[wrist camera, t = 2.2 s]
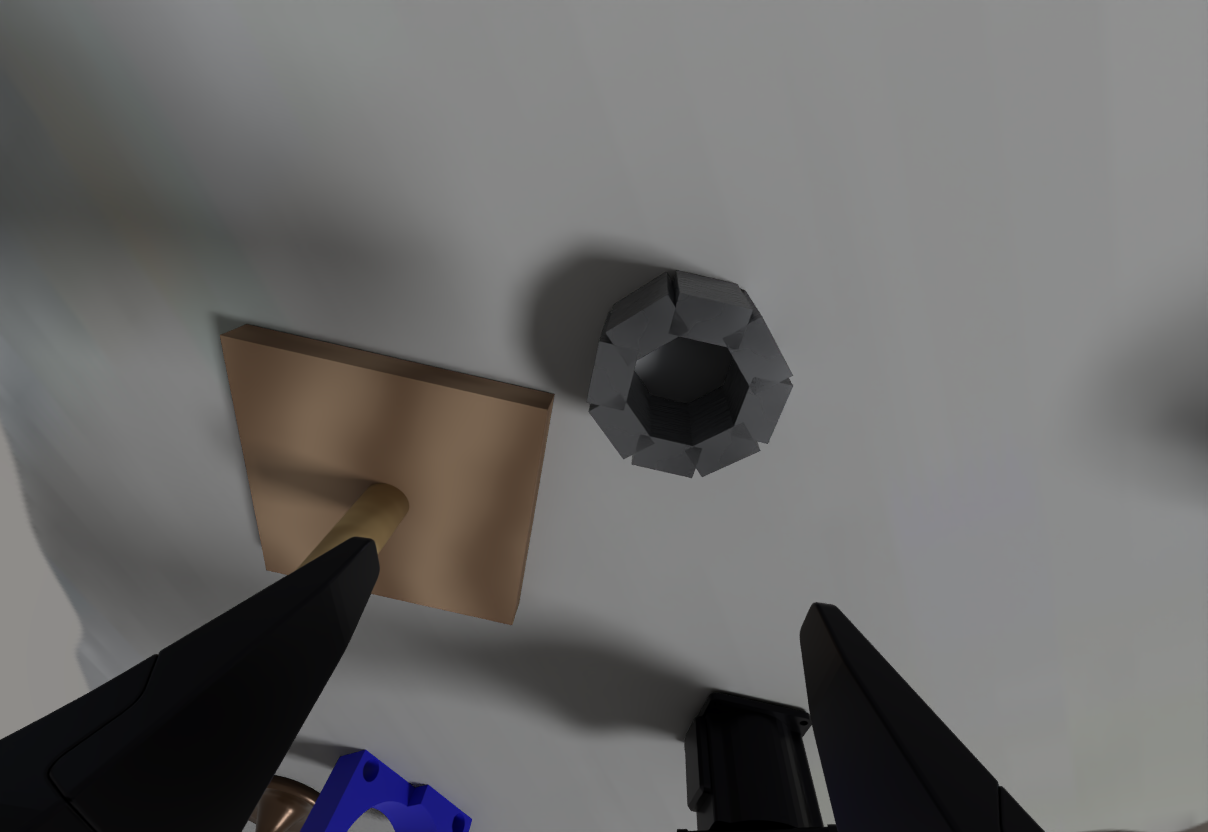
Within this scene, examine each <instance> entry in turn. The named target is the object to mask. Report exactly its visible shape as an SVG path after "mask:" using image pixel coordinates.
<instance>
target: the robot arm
mask: <svg viewBox="0 0 1208 832" xmlns="http://www.w3.org/2000/svg"><path fill="white" fill-rule="evenodd" d="M379 572H380V564H379V559H378V553H377V548H376V543H375V541H374V540H373V539H371V538H365V537H358V536H354V537H351V538H349V539H347V540H346V541H344V542H342V543H341V544H339V545H337V546H336V547H334V548H332V549H331V550H329V551H327V552H326V553H324V554H322V555H320V556H319V557H317V558H315V559H314V560H312V561H310V562H309V563H307V564H305V565H304V566H302V567H300V568H299V569H297V570H295V571H294V572H292V573H290V574H289V575H287V576H285V577H284V578H282V579H280V580H279V581H277V582H275V583H273V584H272V585H270V586H268V587H267V588H265V589H263V590H262V591H260V592H258V593H257V594H255V595H253V596H252V597H250V598H248V599H247V600H245V601H243V602H242V603H240V604H238V605H237V606H235V607H233V608H232V609H230V610H228V611H226V612H225V613H223V614H221V615H220V616H218V617H216V618H215V619H213V620H211V621H210V622H208V623H206V624H205V625H203V626H201V627H200V628H198V629H196V630H195V631H193V632H191V633H190V634H188V635H186V636H185V637H183V638H181V639H180V640H178V641H176V642H174V643H173V644H171V645H169V646H168V647H166V648H164V649H163V650H161V651H160V652H159V654H154V655H152V656H151V657H149V658H147V659H146V660H144V661H142V662H141V663H139V664H137V665H136V666H134V667H132V668H131V669H129V670H127V671H125V672H124V673H122V674H120V675H118V676H117V677H115V678H113V679H112V680H110V681H108V682H106V683H105V684H103V685H101V686H99V687H98V688H96V689H94V690H92V691H91V692H89V693H87V694H85V695H84V696H82V697H80V698H78V699H77V700H74V701H73V702H71V703H69V704H67V705H65V706H63V707H61V708H59V709H58V710H56V711H54V712H52V713H50V714H49V715H47V716H45V717H43V718H41V719H39V720H37V721H35V722H33V723H31V724H30V725H28V726H26V727H24V728H22V729H20V730H18V731H16V732H14V733H12V734H10V735H9V736H7V737H5V738H3V739H1V740H0V832H242V830H243V828H244V827H245V825H246V823H247V821H248V820H249V818H250V816H251V814H252V813H253V811H254V809H255V808H256V806H257V804H258V802H259V801H260V799H261V797H262V795H263V794H264V792H265V790H266V788H267V787H268V785H269V783H270V781H271V780H272V778H273V776H274V774H275V773H276V771H277V769H278V767H279V766H280V764H281V762H282V760H283V759H284V757H285V755H286V753H287V752H288V750H289V748H290V746H291V745H292V743H293V741H294V739H295V738H296V736H297V734H298V732H299V731H300V729H301V727H302V725H303V724H304V722H305V720H306V718H307V717H308V715H309V713H310V711H311V710H312V708H313V706H314V704H315V703H316V701H317V699H318V698H319V696H320V694H321V692H322V691H323V689H324V687H325V685H326V684H327V682H328V680H329V678H330V677H331V675H332V673H333V671H334V670H335V668H336V666H337V664H338V663H339V661H340V659H341V657H342V655H343V654H344V652H345V650H346V648H347V646H348V644H349V642H350V640H351V637H352V635H353V633H354V631H355V629H356V626H357V624H358V622H359V620H360V617H361V615H362V613H363V611H364V608H365V606H366V604H367V602H368V599H369V597H370V595H371V593H372V590H373V588H374V586H375V584H376V581H377V579H378V576H379ZM800 645H801V652H802V660H803V667H804V675H805V682H806V689H807V697H808V704H809V711H810V714H808V713H806V712H802V711H798V710H793V709H789V708H784V707H780V706H775V705H771V704H767V703H762V702H758V701H753V700H749V699H744V698H740V697H735V696H731V695H726V694H722V693H712V694H710V695H709V697H708V699H707V701H706V703H705V704H704V706H703V708H702V710H701V712H700V714H699V715H698V716H697V717H696V718H695V719H694V721H693V723H692V725H691V727H690V728H689V730H688V732H687V734H686V736H685V743H684V747H685V758H686V781H687V804H688V807H689V809H690V810H691V811H694V812H697V829H698V831H688V830H687V829H677V832H1045V831H1044V830H1043V829H1042V828H1041V827H1040V826H1039V825H1038V824H1037V823H1036V822H1035V821H1034V820H1033V819H1032V818H1031V817H1030V815H1029V814H1028V813H1027V812H1026V811H1025V810H1024V809H1023V808H1022V807H1021V806H1020V805H1019V804H1018V803H1017V801H1016V800H1015V799H1014V798H1013V797H1012V796H1011V795H1010V794H1009V793H1008V792H1007V791H1006V790H1005V788H1004V787H1002V786H999V784H998V781H997V780H996V779H995V778H994V777H993V776H992V775H991V773H990V772H989V771H988V770H987V769H986V768H985V767H984V766H983V765H982V764H981V763H980V762H979V760H978V759H977V758H976V757H975V756H974V755H973V754H972V753H971V752H970V751H969V750H968V748H967V747H966V746H965V745H964V744H963V743H962V742H961V741H960V740H959V739H958V738H957V737H956V735H955V734H954V733H953V732H952V731H951V730H950V729H949V728H948V727H947V726H946V725H945V724H944V722H943V721H942V720H941V719H940V718H939V717H938V716H937V715H936V714H935V713H934V712H933V710H932V709H931V708H930V707H929V706H928V705H927V704H926V703H925V702H924V701H923V700H922V699H921V697H920V696H919V695H918V694H917V693H916V692H915V691H914V690H913V689H912V688H911V687H910V685H909V684H908V683H907V682H906V681H905V680H904V679H903V678H902V677H901V676H900V675H899V674H898V672H897V671H896V670H895V669H894V668H893V667H892V666H891V665H890V664H889V663H888V662H887V661H886V659H885V658H884V657H883V656H882V655H881V654H880V653H879V652H878V651H877V650H876V649H875V647H874V646H873V645H872V644H871V643H870V642H869V641H868V640H867V639H866V638H865V637H864V636H863V634H862V633H861V632H860V631H859V630H858V629H857V628H856V627H855V626H854V625H853V624H852V623H851V621H850V620H849V619H848V618H847V617H846V616H845V615H844V614H843V613H842V612H841V611H840V609H839V608H837V607H836V606H835V605H832V604H825V603H818V602H815V603H813V604H812V605H811V607H810V609H809V611H808V613H807V615H806V618H805V620H804V622H803V624H802V627H801V630H800ZM811 725H812V727H813V731H814V736H815V740H816V744H817V748H818V752H819V756H820V760H821V765H822V769H823V773H824V777H825V781H826V785H827V789H828V793H829V798H830V802H831V806H832V810H833V814H834V818H835V822H836V824H827V825H828V827H824V825H823V821H822V817H821V813H820V809H819V805H818V801H817V796H816V792H815V788H814V784H813V780H812V776H811V772H810V768H809V764H808V760H807V756H806V752H805V748H804V744H803V739H802V737H803V736H804V734H805V733H806V732H807V730H808V729H809V728H810V726H811Z"/></svg>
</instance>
